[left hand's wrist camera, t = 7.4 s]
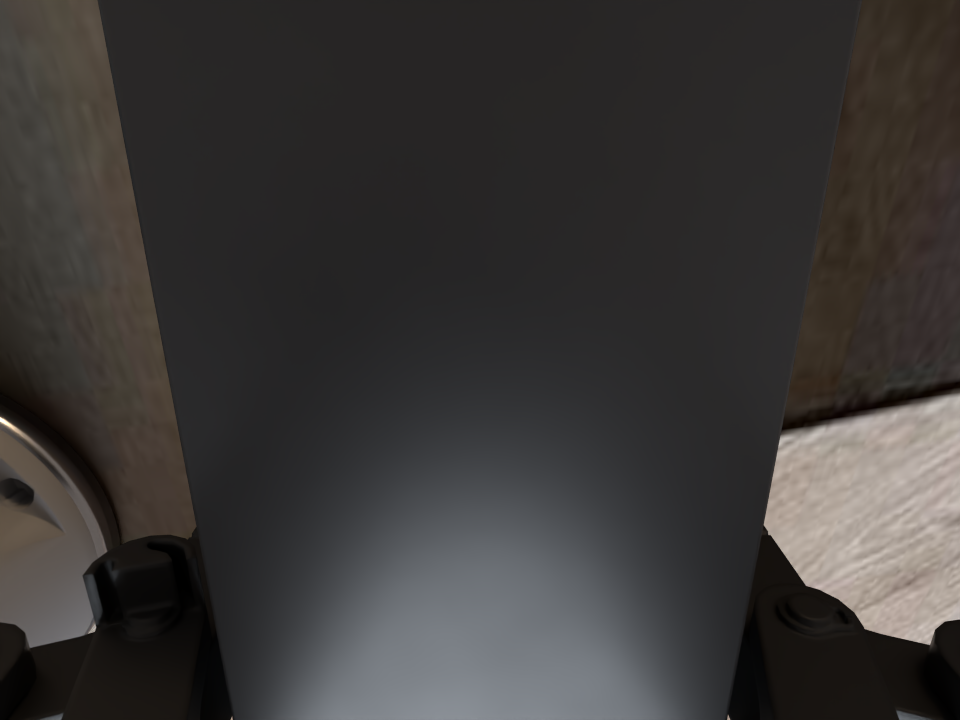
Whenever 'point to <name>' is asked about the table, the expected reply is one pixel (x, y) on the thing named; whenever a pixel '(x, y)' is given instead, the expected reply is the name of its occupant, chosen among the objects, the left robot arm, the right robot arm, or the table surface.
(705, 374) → the bar
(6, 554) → the left robot arm
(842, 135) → the table surface
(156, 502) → the table surface
